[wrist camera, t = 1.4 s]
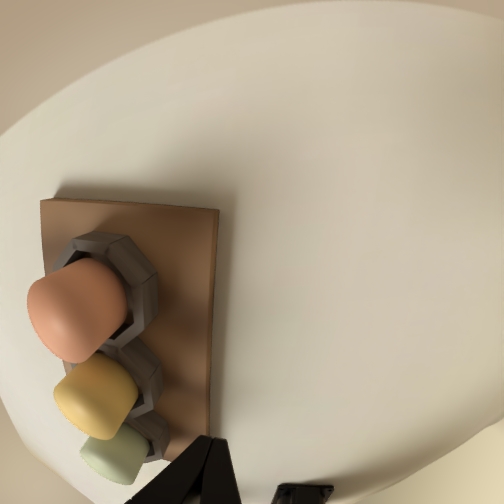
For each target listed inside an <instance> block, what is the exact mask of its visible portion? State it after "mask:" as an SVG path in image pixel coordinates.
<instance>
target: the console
mask: <svg viewBox="0 0 504 504" xmlns="http://www.w3.org/2000/svg"><path fill="white" fill-rule="evenodd" d="M40 214H41V236H42V249H43V260H44V269H45V276H47V275H49V274H51V273H53V272H55V271H57V270H59V269H61V268H63V267H65V266H67V265H69V264H71V263H73V262H75V261H78V260H80V259H83V258H93V259H96V260H99V261H101V262H103V263H104V264H106V265H107V266H108V267H109V268H110V269H112V271H113V272H114V273H115V274H116V275H117V277H118V278H119V280H120V281H121V283H122V285H123V287H124V290H125V293H126V296H127V302H128V311H127V316H126V319H125V321H124V323H123V324H122V325H121V326H120V327H119V328H118V329H117V330H116V331H115V332H114V333H113V334H112V335H111V336H110V337H109V338H108V339H107V340H106V341H105V342H104V343H103V344H102V345H101V346H100V347H99V348H98V349H97V350H96V351H95V352H94V353H100V354H104V355H107V356H109V357H111V358H113V359H114V360H116V361H117V362H119V363H120V364H121V365H122V366H123V367H124V368H125V369H126V370H127V371H128V372H129V373H130V374H131V376H132V377H133V379H134V380H135V382H136V384H137V387H138V393H139V394H138V399H137V400H136V402H135V404H134V405H133V407H132V408H131V410H130V412H129V413H128V415H127V416H126V418H125V420H124V421H123V422H125V423H127V424H129V425H131V426H132V427H134V428H135V429H137V430H138V431H139V432H140V433H141V434H142V435H143V436H144V437H145V438H146V439H147V441H148V443H149V445H150V450H149V452H148V454H147V456H146V458H145V460H144V462H143V463H148V462H152V461H156V460H160V459H163V460H167V461H170V462H172V461H173V460H174V459H175V458H177V457H178V456H179V455H180V454H181V453H182V452H183V451H184V450H185V449H186V448H187V447H188V446H189V445H190V444H191V443H192V442H193V441H194V440H195V439H196V438H197V437H198V436H199V435H207V436H209V411H210V368H211V340H212V317H213V297H214V279H215V263H216V248H217V233H218V220H219V210H215V209H205V208H194V207H183V206H171V205H159V204H146V203H132V202H117V201H101V200H83V199H61V198H51V199H45V200H40ZM62 361H63V365H64V368H65V371H66V375H67V374H68V373H69V372H70V371H71V370H72V369H73V368H74V367H75V366H76V365H77V364H78V363H70V362H67V361H64V360H62Z"/></svg>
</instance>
